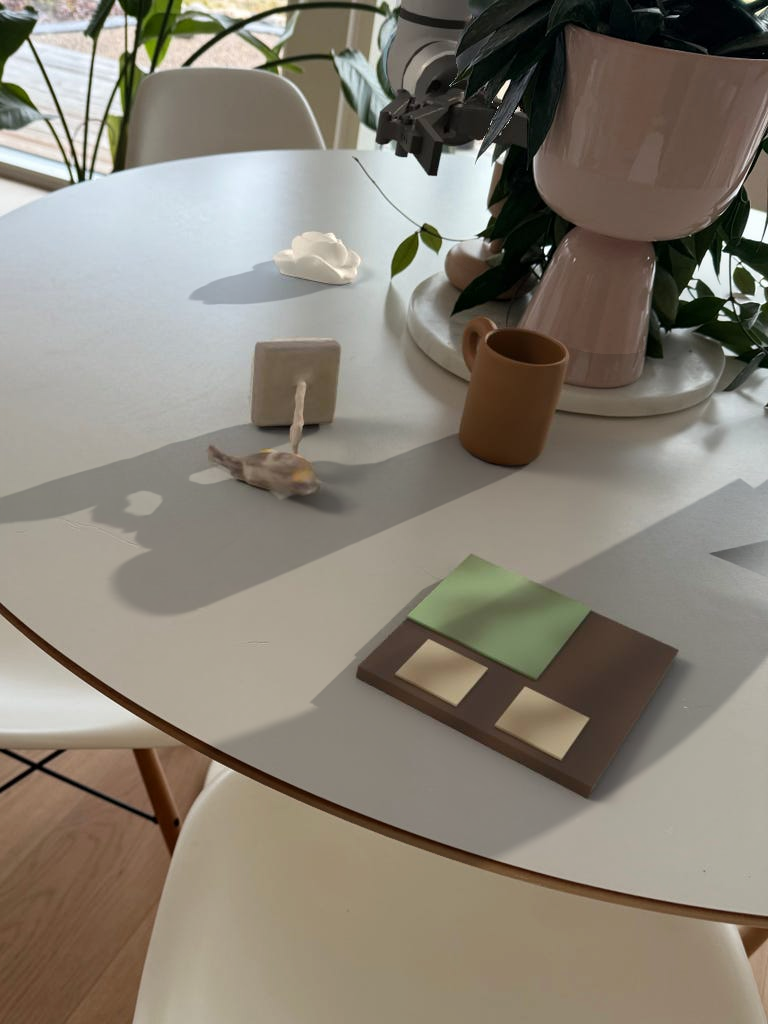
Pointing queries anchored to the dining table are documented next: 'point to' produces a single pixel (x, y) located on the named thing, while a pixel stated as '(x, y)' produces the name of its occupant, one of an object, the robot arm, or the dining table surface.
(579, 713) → the word board
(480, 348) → the mug
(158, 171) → the dining table surface
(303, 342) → the decorative sculpture
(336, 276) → the white wavy figurine
